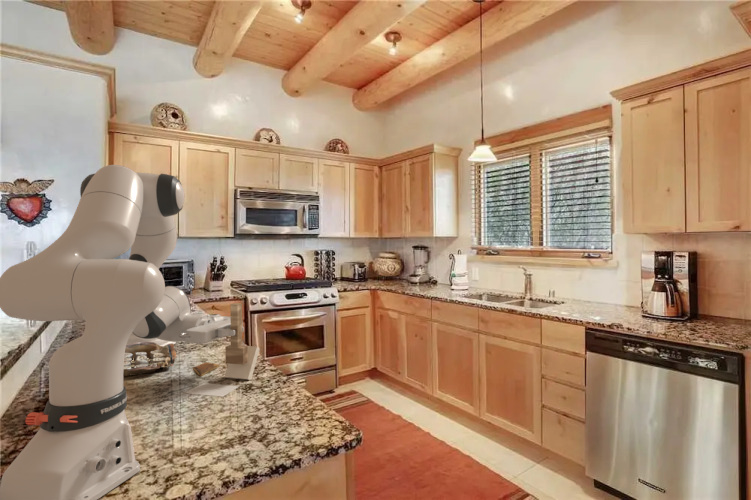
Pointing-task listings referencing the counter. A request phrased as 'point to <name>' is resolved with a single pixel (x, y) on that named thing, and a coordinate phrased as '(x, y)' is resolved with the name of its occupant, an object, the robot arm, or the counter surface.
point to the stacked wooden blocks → (236, 338)
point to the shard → (205, 368)
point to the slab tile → (244, 366)
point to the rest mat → (212, 389)
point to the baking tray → (143, 351)
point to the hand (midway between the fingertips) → (239, 331)
